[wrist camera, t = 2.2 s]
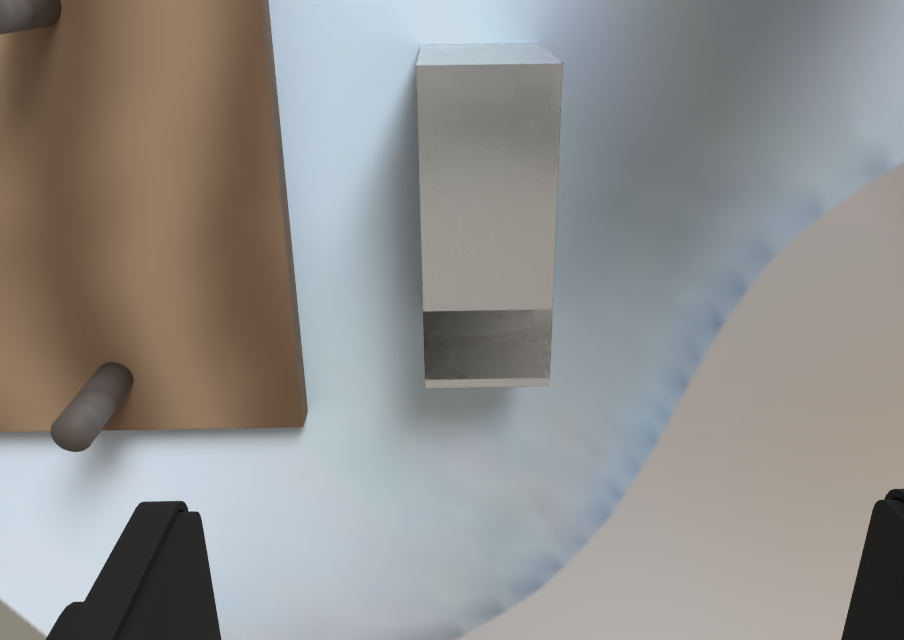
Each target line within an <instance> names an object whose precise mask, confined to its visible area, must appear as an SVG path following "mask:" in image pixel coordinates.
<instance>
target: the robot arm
mask: <svg viewBox="0 0 904 640" xmlns="http://www.w3.org/2000/svg"><path fill="white" fill-rule="evenodd" d="M46 640H221V635H220V629H219V623H218V617H217V611H216V605H215V599H214V593H213V586H212V580H211V574H210V568H209V562H208V556H207V550H206V544H205V538H204V531H203V525H202V520H201V516H200V514H199V512H188V508H187V506H186V504H185V502H183V501H160V502H142V503H139V505H138V506H137V507H136V509H135V511H134V513H133V514H132V516H131V518H130V520H129V522H128V523H127V525H126V527H125V529H124V531H123V532H122V534H121V536H120V538H119V540H118V541H117V543H116V545H115V547H114V549H113V550H112V552H111V554H110V556H109V558H108V559H107V561H106V563H105V565H104V567H103V569H102V570H101V572H100V574H99V576H98V578H97V579H96V581H95V583H94V585H93V587H92V588H91V590H90V592H89V594H88V596H87V597H86V599H85V601H84V602H73V603H71V604H70V605H68V606H67V607H66V608H65V609H64V611H63V612H62V613H61V615H60V616H59V618H58V619H57V621H56V623H55V625H54V626H53V628H52V630H51V632H50V633H49V635H48V637H47V638H46ZM841 640H904V489H893V490H890V491H889V492H888V494H887V495H886V497H885V499H884V500H879V501H877V502H876V504H875V505H874V508H873V511H872V515H871V520H870V524H869V528H868V532H867V536H866V540H865V544H864V548H863V553H862V557H861V561H860V565H859V569H858V574H857V577H856V581H855V585H854V590H853V594H852V598H851V602H850V607H849V610H848V614H847V618H846V623H845V627H844V631H843V635H842V639H841Z"/></svg>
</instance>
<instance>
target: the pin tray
mask: <svg viewBox="0 0 904 640" xmlns="http://www.w3.org/2000/svg"><path fill="white" fill-rule="evenodd" d="M307 412H308V410H307V399H306V389H305V378H304V368H303V358H302V347H301V337H300V326H299V316H298V306H297V295H296V285H295V274H294V264H293V254H292V243H291V233H290V222H289V212H288V202H287V191H286V181H285V170H284V160H283V150H282V139H281V129H280V118H279V108H278V98H277V87H276V77H275V66H274V56H273V46H272V35H271V25H270V14H269V4H268V0H0V432H31V431H51V436H52V438H53V440H54V442H55V443H56V444H57V445H58V446H60V447H61V448H63V449H65V450H68V451H72V452H79V451H83V450H85V449H87V448H88V447H89V446H90V445H91V443H92V442H93V441H94V439H95V438H96V437H97V435H98V434H99V432H100V431H101V430H152V429H212V428H273V427H303V426H304V422H305V419H306V416H307Z"/></svg>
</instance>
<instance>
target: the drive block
mask: <svg viewBox="0 0 904 640" xmlns="http://www.w3.org/2000/svg"><path fill="white" fill-rule="evenodd" d="M562 70H563V63H562V62H561V61H559V60H558V59H557V58H556V57H555V56H554V55H552V54H551V53H550V52H549V51H548V50H547V49H545V48H544V47H543V46H542V45H541V44H540V43H489V44H421V46H420V50H419V55H418V59H417V64H416V80H417V115H418V150H419V185H420V220H421V255H422V290H423V325H424V360H425V388H469V387H528V386H549V380H550V356H551V332H552V308H553V284H554V260H555V237H556V213H557V189H558V165H559V141H560V117H561V94H562Z"/></svg>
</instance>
